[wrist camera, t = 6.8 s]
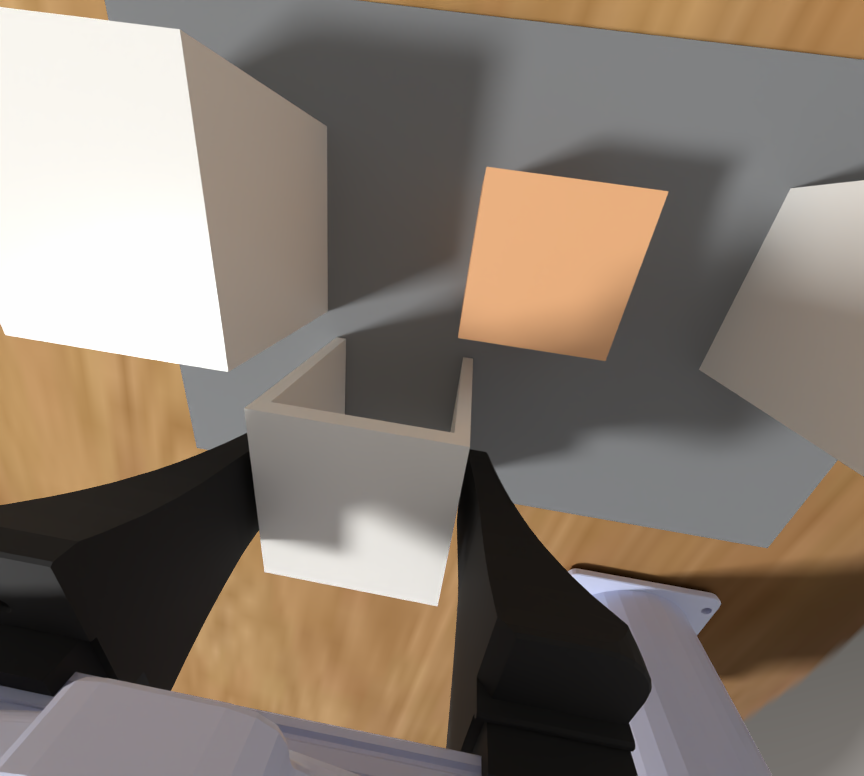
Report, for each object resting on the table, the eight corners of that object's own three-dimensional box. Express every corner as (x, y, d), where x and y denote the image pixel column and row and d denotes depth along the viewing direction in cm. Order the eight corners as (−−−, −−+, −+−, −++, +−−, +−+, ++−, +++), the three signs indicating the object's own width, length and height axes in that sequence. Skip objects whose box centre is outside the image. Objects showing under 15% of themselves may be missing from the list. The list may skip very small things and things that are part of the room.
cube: (568, 322, 13) (605, 361, 9) (462, 306, 13) (458, 337, 9) (606, 201, 11) (668, 191, 8) (482, 184, 11) (486, 166, 8)
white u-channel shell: (451, 477, 16) (437, 606, 11) (336, 456, 17) (264, 571, 11) (473, 358, 14) (469, 446, 8) (336, 337, 14) (243, 408, 9)
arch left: (327, 311, 14) (228, 371, 8) (192, 290, 14) (5, 334, 8) (327, 126, 11) (180, 28, 6) (159, 104, 11) (-142, -10, 6)
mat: (758, 537, 17) (767, 547, 16) (205, 440, 18) (196, 447, 18) (1093, 98, 9) (1130, 91, 9) (117, -18, 11) (97, -31, 10)
